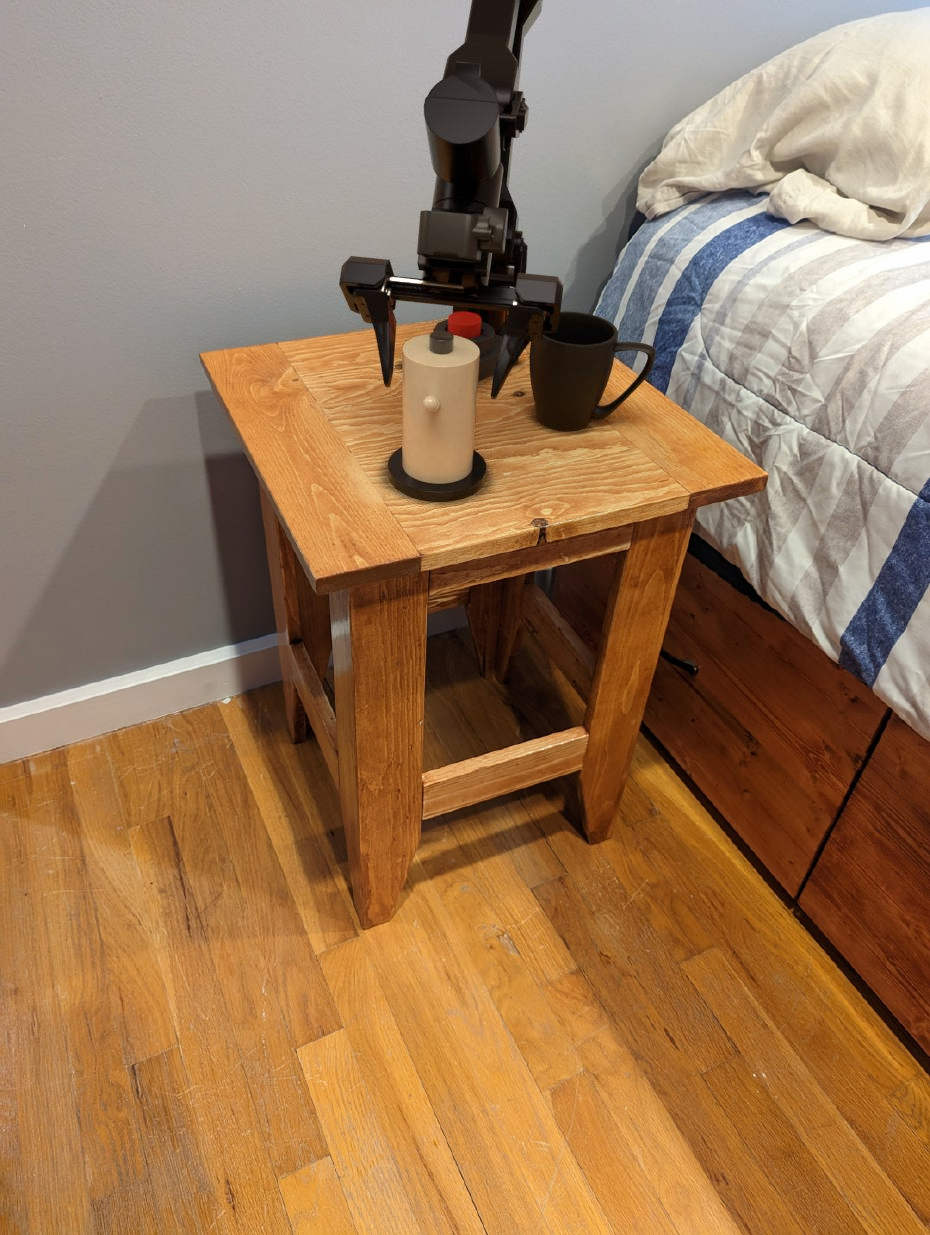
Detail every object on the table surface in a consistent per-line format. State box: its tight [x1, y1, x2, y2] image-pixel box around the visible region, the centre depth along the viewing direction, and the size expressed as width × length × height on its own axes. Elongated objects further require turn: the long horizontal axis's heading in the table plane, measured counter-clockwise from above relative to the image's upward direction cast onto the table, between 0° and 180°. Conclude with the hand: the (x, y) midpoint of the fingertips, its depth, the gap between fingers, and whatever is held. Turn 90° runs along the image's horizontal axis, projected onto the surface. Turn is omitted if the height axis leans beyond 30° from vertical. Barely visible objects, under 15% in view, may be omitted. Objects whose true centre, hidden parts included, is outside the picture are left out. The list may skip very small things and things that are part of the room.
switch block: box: [432, 318, 520, 382], centre depth 95 cm, size 10×8×4 cm
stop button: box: [447, 312, 481, 338], centre depth 94 cm, size 4×4×2 cm
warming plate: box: [387, 446, 488, 503], centre depth 79 cm, size 9×9×1 cm
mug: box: [528, 310, 657, 432], centre depth 85 cm, size 8×12×10 cm
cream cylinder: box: [401, 331, 480, 484], centre depth 74 cm, size 9×6×12 cm
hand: (439, 391), depth 74 cm, fingers open, 9 cm apart
